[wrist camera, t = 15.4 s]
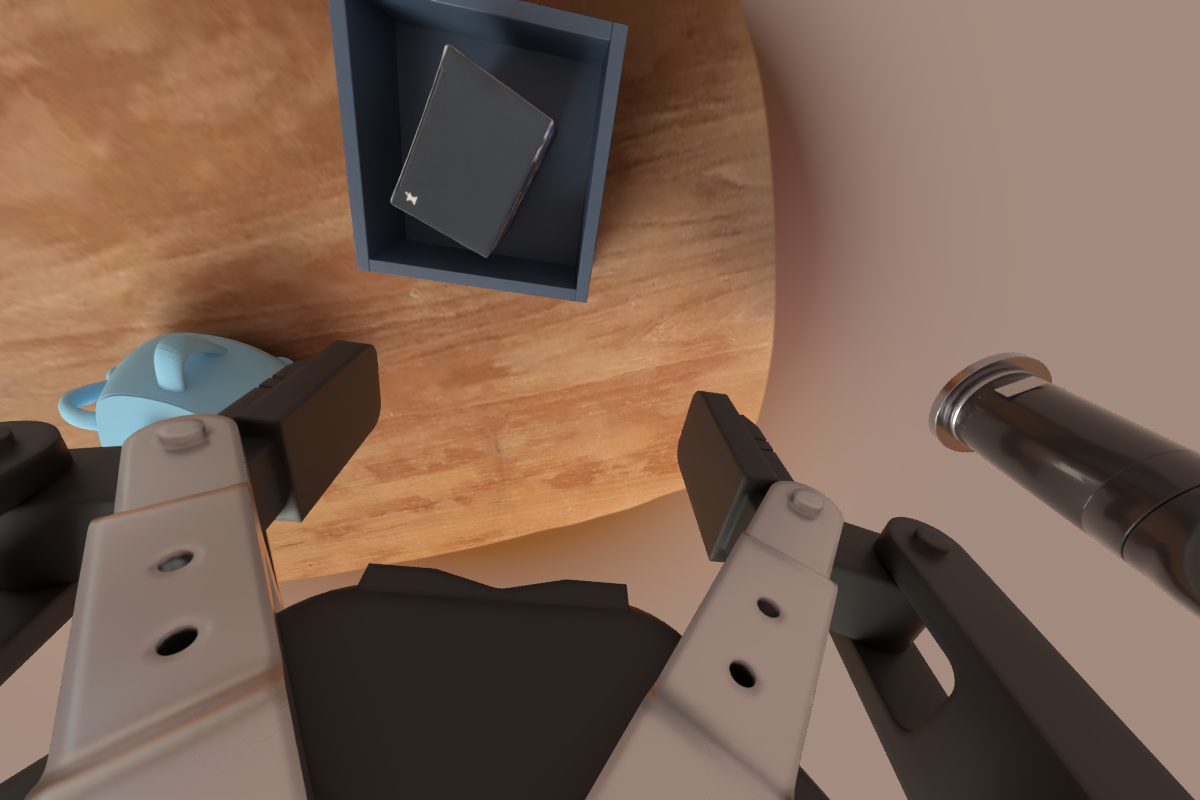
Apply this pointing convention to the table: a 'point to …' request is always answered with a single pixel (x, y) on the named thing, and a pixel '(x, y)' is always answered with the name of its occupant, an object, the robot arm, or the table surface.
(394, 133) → the tub
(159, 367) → the teapot
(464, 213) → the box
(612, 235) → the table surface
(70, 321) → the table surface
